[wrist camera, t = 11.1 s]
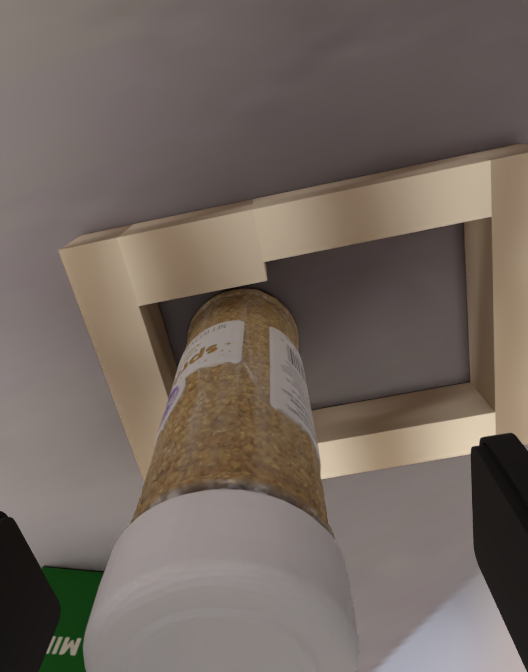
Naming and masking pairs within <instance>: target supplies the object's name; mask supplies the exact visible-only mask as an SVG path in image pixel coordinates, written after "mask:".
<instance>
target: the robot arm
mask: <svg viewBox="0 0 528 672" xmlns="http://www.w3.org/2000/svg"><path fill="white" fill-rule="evenodd" d="M471 477H472V509H473V540H474V551H475V556H476V559H477V562H478V565H479V567H480V570H481V572H482V574H483V576H484V578H485V580H486V583H487V585H488V587H489V589H490V592H491V594H492V596H493V598H494V600H495V603H496V605H497V607H498V609H499V611H500V614H501V615H502V618H503V620H504V622H505V624H506V627H507V629H508V631H509V633H510V635H511V638H512V640H513V642H514V644H515V646H516V649H517V651H518V653H519V655H520V657H521V660H522V662H523V664H524V666H525V668H526V670H527V672H528V451H527V449H526V448H525V447H524V445H523V444H522V443H521V441H520V440H519V439H518V437H517V436H516V435H515V434H513V433H505V434H499V435H492V436H486V437H482V438H480V442H479V446H473V447H472V448H471ZM60 615H61V607H60V602H59V600H58V598H57V596H56V595H55V593H54V591H53V589H52V587H51V586H50V584H49V582H48V580H47V578H46V576H45V575H44V573H43V571H42V569H41V567H40V566H39V564H38V562H37V560H36V558H35V556H34V555H33V553H32V551H31V549H30V547H29V545H28V544H27V542H26V540H25V538H24V536H23V535H22V533H21V531H20V529H19V527H18V525H17V524H16V522H15V520H14V519H13V518H11V517H8V516H7V515H6V514H5V513H4V512H2V511H0V672H39V670H40V667H41V665H42V662H43V660H44V657H45V655H46V652H47V650H48V647H49V645H50V643H51V640H52V638H53V635H54V633H55V630H56V628H57V625H58V623H59V620H60Z"/></svg>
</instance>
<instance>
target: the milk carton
mask: <svg viewBox="0 0 528 672" xmlns="http://www.w3.org/2000/svg"><path fill="white" fill-rule="evenodd" d="M42 571H43V573H44V575H45V576H46V578H47V580H48V582H49V584H50V586H51V587H52V589H53V591H54V593H55V595H56V596H57V598H58V600H59V602H60V607H61V615H60V620H59V623H58V625H57V628H56V630H55V633H54V635H53V638H52V640H51V643H50V645H49V647H48V650H47V652H46V655H45V657H44V660H43V662H42V665H41V667H40V670H39V672H86V669H85V664H84V654H83V643H84V636H85V631H86V628H87V624H88V621H89V617H90V614H91V611H92V608H93V604H94V601H95V598H96V594H97V591H98V588H99V585H100V582H101V580H102V577H103V574H104V572H93V571H82V570H71V569H60V568H49V567H43V568H42Z"/></svg>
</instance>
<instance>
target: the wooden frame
mask: <svg viewBox="0 0 528 672" xmlns="http://www.w3.org/2000/svg"><path fill="white" fill-rule="evenodd" d="M462 222H464V238H465V262H466V287H467V311H468V336H469V360H470V382H468V383H463V384H457V385H452V386H446V387H440V388H435V389H429V390H424V391H418V392H412V393H407V394H401V395H396V396H390V397H384V398H379V399H373V400H368V401H362V402H356V403H351V404H345V405H340V406H334V407H328V408H323V409H317V410H312V417H313V422H314V428H315V433H316V438H317V444H318V449H319V455H320V461H321V474H320V476H321V479H325V478H331V477H337V476H343V475H349V474H355V473H361V472H367V471H373V470H378V469H384V468H390V467H396V466H402V465H408V464H414V463H420V462H426V461H432V460H438V459H443V458H449V457H455V456H461V455H467V454H471V448H472V447H473V446H479V442H480V438H482V437H486V436H492V435H499V434H505V433H513V434H515V435H516V436H517V437H518V439H519V440H520V441H521V443H522V444H523V445H526V444H528V144H515V145H510V146H505V147H500V148H495V149H491V150H486V151H481V152H476V153H472V154H467V155H462V156H457V157H452V158H448V159H443V160H438V161H433V162H428V163H424V164H419V165H414V166H409V167H404V168H400V169H395V170H390V171H385V172H381V173H376V174H371V175H366V176H361V177H357V178H352V179H347V180H342V181H337V182H333V183H328V184H323V185H318V186H314V187H309V188H304V189H299V190H294V191H290V192H285V193H280V194H275V195H270V196H266V197H261V198H256V199H251V200H247V201H242V202H237V203H232V204H227V205H223V206H218V207H213V208H208V209H203V210H199V211H194V212H189V213H184V214H179V215H175V216H170V217H165V218H160V219H156V220H151V221H146V222H141V223H136V224H132V225H127V226H122V227H117V228H112V229H108V230H103V231H98V232H93V233H89V234H84V235H81V236H79V237H78V238H76V239H75V240H73V241H71V242H70V243H68V244H67V245H65V246H64V247H62V248H60V249H59V250H58V251H59V254H60V257H61V259H62V262H63V265H64V267H65V270H66V273H67V275H68V278H69V281H70V284H71V286H72V289H73V292H74V294H75V297H76V300H77V302H78V305H79V308H80V311H81V313H82V316H83V319H84V321H85V324H86V327H87V329H88V332H89V335H90V338H91V340H92V343H93V346H94V348H95V351H96V354H97V356H98V359H99V362H100V365H101V367H102V370H103V373H104V375H105V378H106V381H107V383H108V386H109V389H110V392H111V394H112V397H113V400H114V402H115V405H116V408H117V410H118V413H119V416H120V419H121V421H122V424H123V427H124V429H125V432H126V435H127V437H128V440H129V443H130V446H131V448H132V451H133V454H134V456H135V459H136V462H137V464H138V467H139V470H140V473H141V475H142V478H143V481H144V482H145V478H146V475H147V473H148V469H149V466H150V464H151V460H152V456H153V453H154V444H155V440H156V436H157V433H158V430H159V427H160V424H161V421H162V418H163V415H164V412H165V409H166V405H167V402H168V399H169V396H170V393H171V389H172V385H173V382H174V378H175V375H176V372H177V365H176V362H175V359H174V355H173V352H172V349H171V345H170V342H169V339H168V336H167V332H166V329H165V326H164V322H163V319H162V316H161V312H160V309H159V306H158V303H157V302H162V301H167V300H172V299H177V298H182V297H188V296H193V295H198V294H203V293H208V292H213V291H218V290H223V289H228V288H233V287H238V286H243V285H248V284H253V283H258V282H263V281H267V269H266V262H267V261H272V260H277V259H282V258H287V257H292V256H297V255H302V254H307V253H312V252H317V251H322V250H327V249H332V248H337V247H342V246H347V245H352V244H357V243H362V242H367V241H372V240H377V239H382V238H387V237H392V236H397V235H402V234H407V233H412V232H417V231H422V230H427V229H432V228H437V227H442V226H447V225H452V224H457V223H462Z"/></svg>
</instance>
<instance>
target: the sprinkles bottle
mask: <svg viewBox="0 0 528 672" xmlns="http://www.w3.org/2000/svg"><path fill="white" fill-rule="evenodd" d="M298 347H299V333H298V329H297V325H296V323H295V321H294V319H293V317H292V315H291V314H290V312H289V311H288V309H287V308H286V307H285V306H284V305H283V304H281V303H280V302H279V301H278V300H277V299H276V298H274V297H272V296H269V295H268V294H266V293H263V292H261V291H259V290H256V289H234V290H231V291H226V292H223V293H220V294H217V295H216V296H214V297H212V298H210V299H209V300H208V301H207V302H205V303H204V304H203V305H202V306H201V307H200V308H199V310H198V311H197V313H196V314H195V316H194V317H193V318H192V320H191V322H190V327H189V330H188V333H187V345H186V349H185V351H184V353H183V355H182V357H181V360H180V362H179V365H178V369H177V372H176V375H175V378H174V382H173V385H172V389H171V393H170V396H169V399H168V402H167V405H166V409H165V412H164V415H163V418H162V421H161V424H160V427H159V430H158V433H157V436H156V440H155V444H154V453H153V456H152V460H151V464H150V466H149V469H148V473H147V475H146V478H145V482H144V485H143V489H142V494H141V497H140V499H139V502H138V505H137V509H136V511H135V514H134V516H133V519H132V521H131V524H130V525H129V526H128V527H127V528H126V529H125V530H124V531H123V533H122V534H121V536H120V537H119V538H118V540H117V541H116V543H115V545H114V547H113V549H112V552H111V555H110V557H109V560H108V563H107V566H106V568H105V571H104V574H103V577H102V580H101V582H100V585H99V588H98V591H97V594H96V598H95V601H94V604H93V608H92V611H91V614H90V617H89V621H88V624H87V628H86V631H85V636H84V643H83V654H84V664H85V669H86V672H356V671H357V667H358V660H359V641H358V634H357V627H356V621H355V614H354V608H353V602H352V596H351V591H350V585H349V580H348V574H347V569H346V565H345V561H344V558H343V555H342V553H341V550H340V548H339V546H338V544H337V543H336V541H335V538H334V535H333V532H332V529H331V527H330V526H329V524H328V520H327V512H326V505H325V500H324V492H323V486H322V483H321V476H320V474H321V461H320V455H319V449H318V444H317V438H316V433H315V428H314V422H313V417H312V411H311V406H310V400H309V394H308V389H307V383H306V378H305V372H304V367H303V363H302V359H301V357H300V355H299V353H298Z"/></svg>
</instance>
